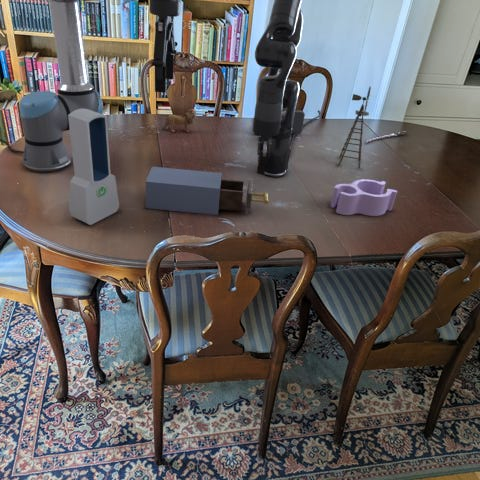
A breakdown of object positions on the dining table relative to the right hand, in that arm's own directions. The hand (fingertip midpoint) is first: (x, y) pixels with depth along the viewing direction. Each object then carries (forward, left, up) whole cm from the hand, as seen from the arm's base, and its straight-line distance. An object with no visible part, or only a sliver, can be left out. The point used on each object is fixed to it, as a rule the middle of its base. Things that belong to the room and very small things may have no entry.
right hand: (260, 173), depth 139 cm
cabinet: (+16, -16, -13) cm, 26 cm away
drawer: (+7, -7, -12) cm, 15 cm away
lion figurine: (-23, -67, -13) cm, 72 cm away
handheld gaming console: (-58, -42, -13) cm, 73 cm away
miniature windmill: (-58, -4, -13) cm, 60 cm away
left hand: (+20, -21, +23) cm, 37 cm away
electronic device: (+41, -26, -13) cm, 50 cm away
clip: (-30, +19, -13) cm, 38 cm away
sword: (-99, -11, -13) cm, 101 cm away
